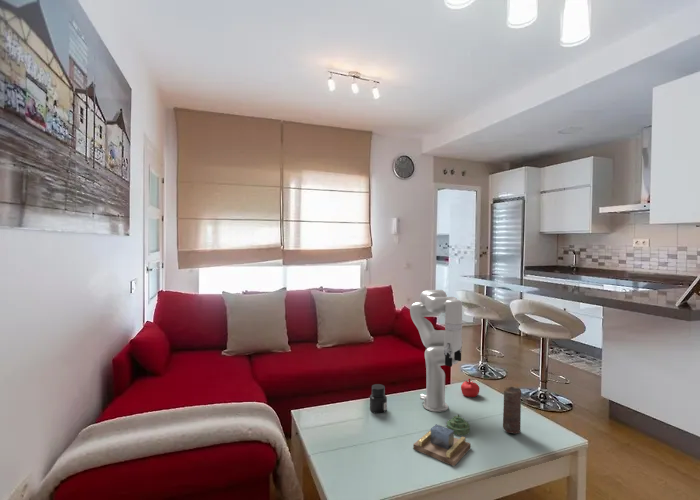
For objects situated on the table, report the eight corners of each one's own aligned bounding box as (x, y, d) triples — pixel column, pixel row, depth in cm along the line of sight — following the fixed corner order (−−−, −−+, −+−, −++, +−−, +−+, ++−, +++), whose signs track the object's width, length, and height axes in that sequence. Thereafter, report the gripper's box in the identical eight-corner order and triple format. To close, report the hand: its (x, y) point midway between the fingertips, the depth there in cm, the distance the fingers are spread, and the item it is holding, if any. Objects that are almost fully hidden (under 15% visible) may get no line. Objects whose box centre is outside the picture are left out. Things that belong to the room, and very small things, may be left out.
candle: (522, 437, 161) (523, 392, 160) (504, 435, 162) (505, 391, 162) (518, 428, 168) (518, 385, 168) (501, 426, 170) (501, 384, 169)
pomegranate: (477, 400, 198) (477, 384, 198) (458, 396, 203) (459, 380, 203) (481, 393, 207) (481, 377, 206) (463, 389, 212) (463, 374, 211)
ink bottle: (389, 413, 183) (389, 389, 183) (372, 415, 181) (372, 391, 181) (383, 404, 193) (383, 382, 193) (367, 406, 191) (367, 383, 190)
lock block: (430, 442, 153) (430, 428, 153) (436, 437, 157) (436, 424, 156) (448, 450, 148) (448, 435, 147) (453, 444, 151) (453, 430, 151)
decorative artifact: (469, 426, 171) (447, 422, 174) (470, 411, 170) (448, 408, 174) (469, 437, 161) (446, 433, 164) (469, 421, 161) (446, 418, 164)
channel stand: (413, 448, 152) (413, 439, 152) (431, 433, 164) (431, 424, 164) (454, 466, 140) (454, 456, 140) (470, 448, 152) (470, 438, 152)
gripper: (453, 322, 177) (453, 356, 177) (437, 328, 164) (437, 366, 164) (468, 324, 172) (468, 360, 172) (453, 331, 159) (452, 370, 159)
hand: (453, 363), depth 168 cm, fingers open, 9 cm apart
